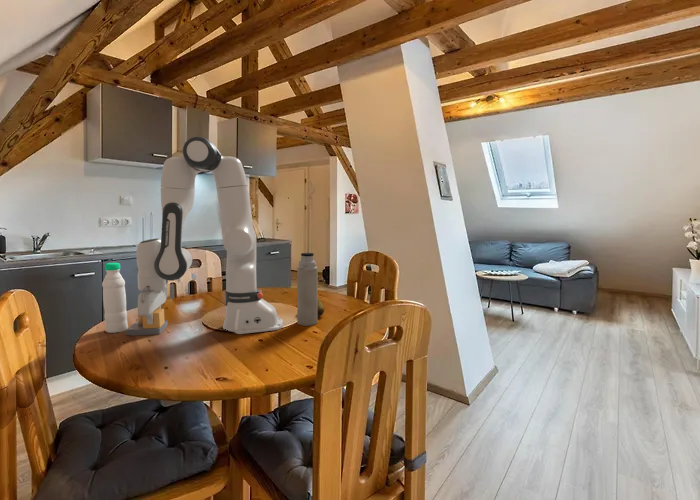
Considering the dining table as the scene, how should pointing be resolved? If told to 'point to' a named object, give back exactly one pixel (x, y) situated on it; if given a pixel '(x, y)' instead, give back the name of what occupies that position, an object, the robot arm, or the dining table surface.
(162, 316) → the wooden cube
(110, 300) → the white milk bottle
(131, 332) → the plate
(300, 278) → the thermos bottle
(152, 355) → the dining table surface
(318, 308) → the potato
